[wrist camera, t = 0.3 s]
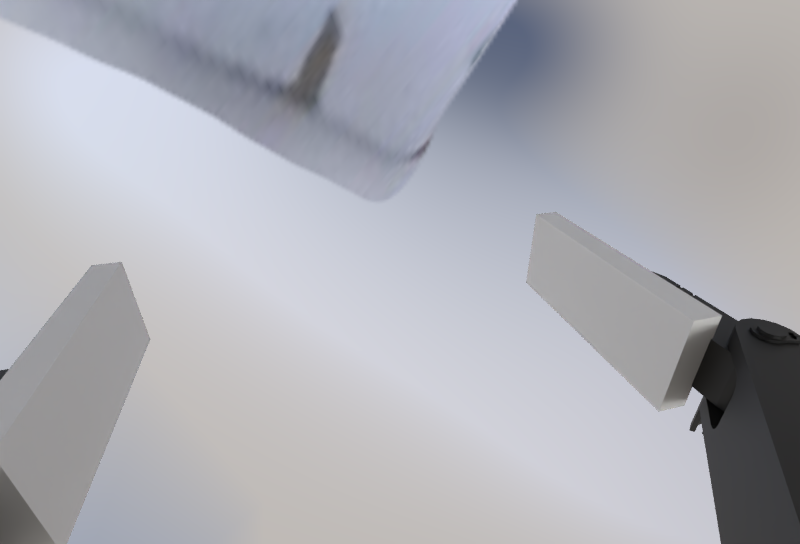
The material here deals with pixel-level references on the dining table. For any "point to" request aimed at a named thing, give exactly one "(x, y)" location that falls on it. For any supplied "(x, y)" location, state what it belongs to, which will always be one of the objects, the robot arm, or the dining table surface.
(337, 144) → the dining table surface
